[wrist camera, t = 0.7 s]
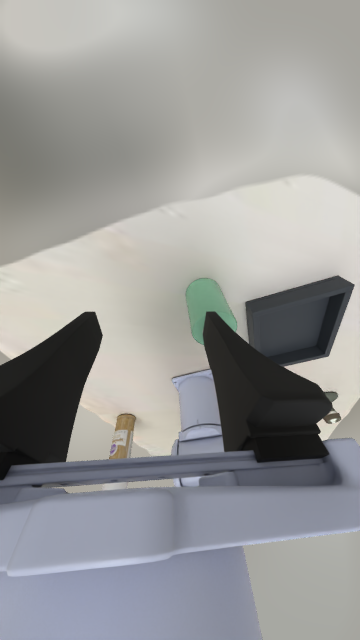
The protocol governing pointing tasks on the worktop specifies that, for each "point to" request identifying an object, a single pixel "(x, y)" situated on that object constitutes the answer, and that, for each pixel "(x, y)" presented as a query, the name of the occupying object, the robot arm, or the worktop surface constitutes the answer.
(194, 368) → the worktop surface
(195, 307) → the mint green cylinder
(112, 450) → the sprinkles bottle
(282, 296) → the dark gray rectangular tray
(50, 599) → the robot arm
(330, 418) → the pot lid
